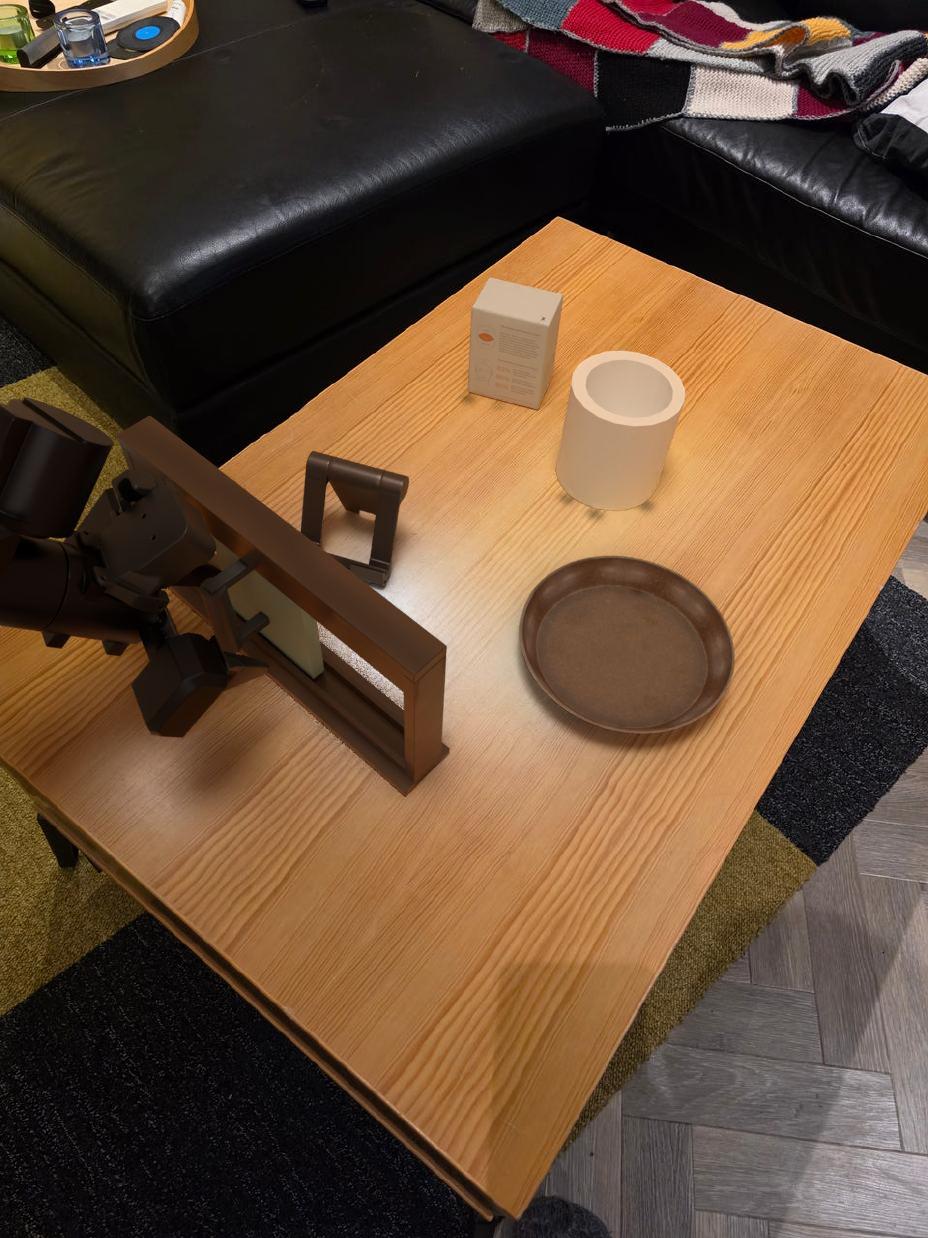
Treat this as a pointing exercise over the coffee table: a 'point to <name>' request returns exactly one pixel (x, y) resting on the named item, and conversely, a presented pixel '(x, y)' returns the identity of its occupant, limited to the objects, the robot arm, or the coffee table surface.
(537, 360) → the small box
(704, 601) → the plant saucer
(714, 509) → the coffee table surface
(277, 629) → the door
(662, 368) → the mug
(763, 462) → the coffee table surface
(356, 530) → the coffee table surface
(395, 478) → the tablet stand
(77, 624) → the robot arm
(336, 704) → the door frame
